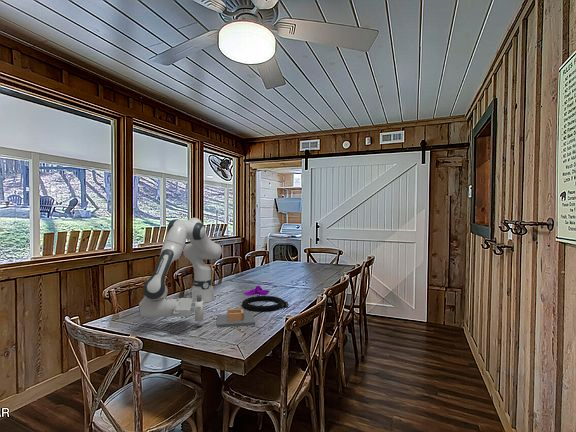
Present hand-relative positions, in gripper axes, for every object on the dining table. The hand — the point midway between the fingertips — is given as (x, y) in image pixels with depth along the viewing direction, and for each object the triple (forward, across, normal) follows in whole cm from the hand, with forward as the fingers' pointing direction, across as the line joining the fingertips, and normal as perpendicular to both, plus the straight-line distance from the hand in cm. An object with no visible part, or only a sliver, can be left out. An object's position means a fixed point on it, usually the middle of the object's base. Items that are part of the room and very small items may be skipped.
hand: (200, 306), depth 171 cm
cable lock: (+39, +32, +12) cm, 51 cm away
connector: (-1, 0, +7) cm, 7 cm away
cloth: (+39, +64, +12) cm, 76 cm away
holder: (+18, +6, +11) cm, 22 cm away
